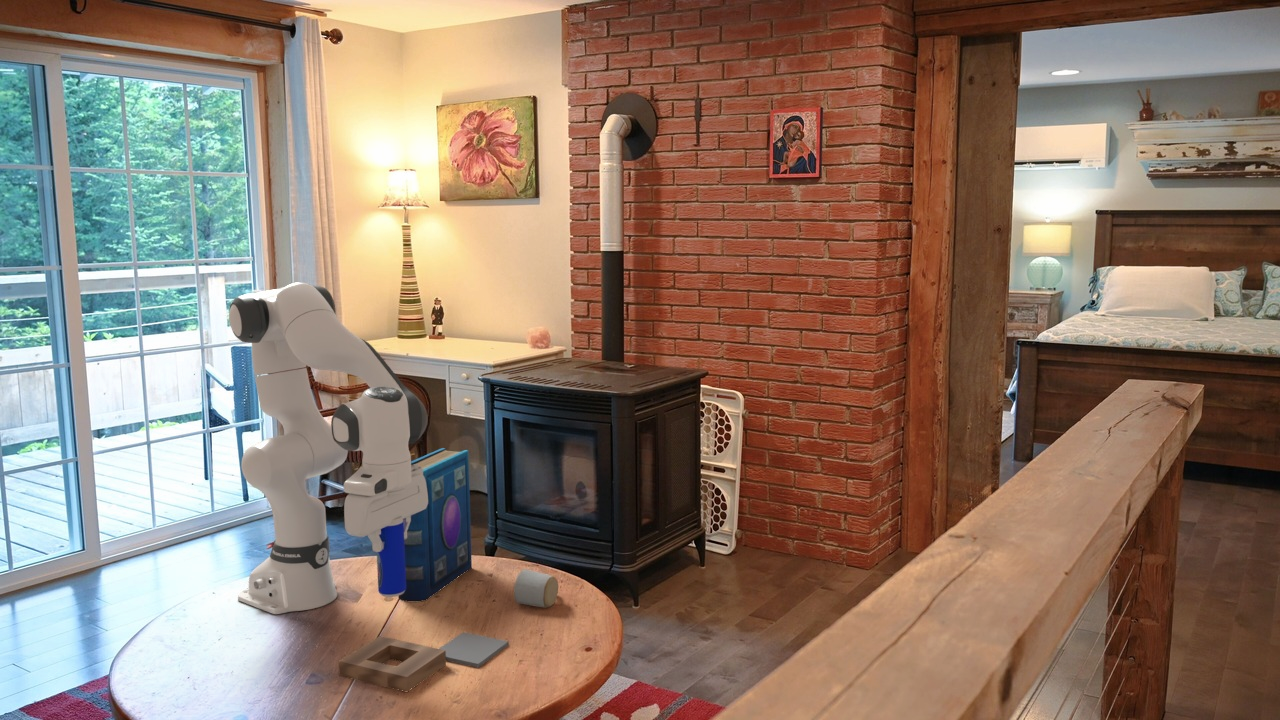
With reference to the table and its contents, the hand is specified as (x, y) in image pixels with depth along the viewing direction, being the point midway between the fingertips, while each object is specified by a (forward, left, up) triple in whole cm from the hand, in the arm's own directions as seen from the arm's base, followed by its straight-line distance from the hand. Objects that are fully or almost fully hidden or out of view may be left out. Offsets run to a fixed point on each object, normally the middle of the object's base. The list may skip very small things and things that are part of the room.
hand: (390, 545), depth 181 cm
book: (-19, +40, -25) cm, 51 cm away
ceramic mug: (+9, +40, -25) cm, 48 cm away
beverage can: (0, 0, -10) cm, 10 cm away
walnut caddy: (0, 0, -25) cm, 25 cm away
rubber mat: (+9, +13, -25) cm, 29 cm away
